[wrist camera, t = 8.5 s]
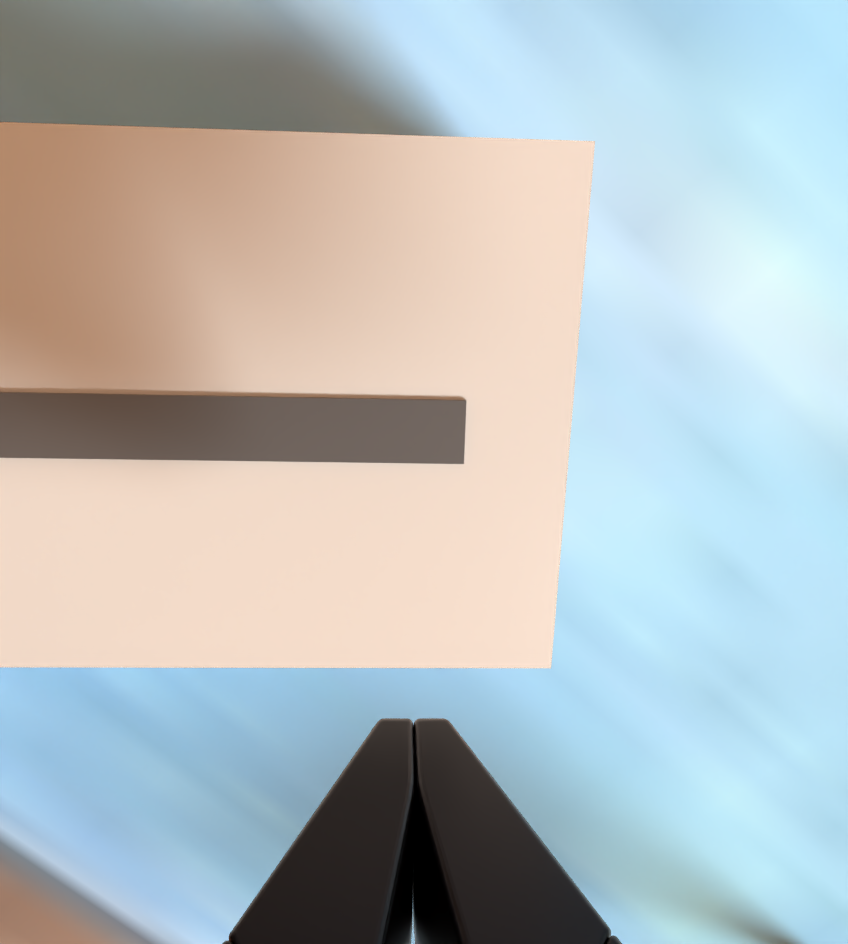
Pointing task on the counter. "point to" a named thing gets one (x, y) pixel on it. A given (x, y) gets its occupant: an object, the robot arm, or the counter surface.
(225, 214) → the board
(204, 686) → the counter surface
